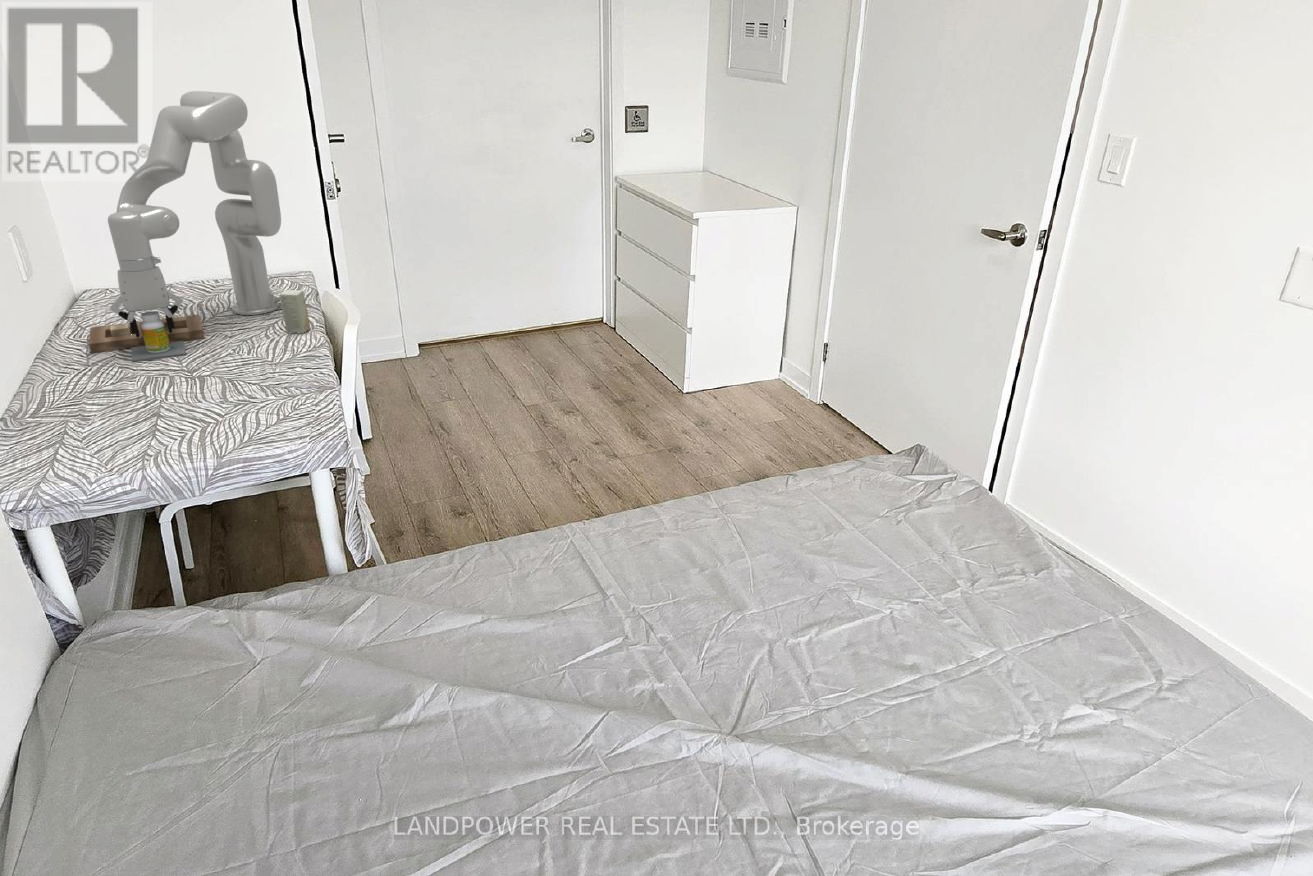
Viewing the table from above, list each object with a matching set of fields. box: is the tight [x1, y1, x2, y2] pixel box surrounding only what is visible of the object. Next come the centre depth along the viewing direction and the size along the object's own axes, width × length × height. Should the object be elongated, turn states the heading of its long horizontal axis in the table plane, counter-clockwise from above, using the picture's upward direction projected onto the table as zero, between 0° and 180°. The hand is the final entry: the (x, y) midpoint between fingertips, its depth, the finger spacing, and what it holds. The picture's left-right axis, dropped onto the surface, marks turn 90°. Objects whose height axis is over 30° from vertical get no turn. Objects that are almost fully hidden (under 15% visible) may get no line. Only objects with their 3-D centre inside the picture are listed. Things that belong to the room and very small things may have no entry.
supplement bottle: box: [140, 310, 170, 353], centre depth 216 cm, size 5×5×10 cm
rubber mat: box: [131, 341, 187, 363], centre depth 218 cm, size 12×10×1 cm
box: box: [279, 289, 311, 334], centre depth 233 cm, size 5×4×11 cm
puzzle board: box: [88, 314, 206, 354], centre depth 227 cm, size 26×14×2 cm, turn 119°
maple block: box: [110, 323, 131, 337], centre depth 224 cm, size 4×4×4 cm
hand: (154, 332), depth 216 cm, fingers open, 6 cm apart
